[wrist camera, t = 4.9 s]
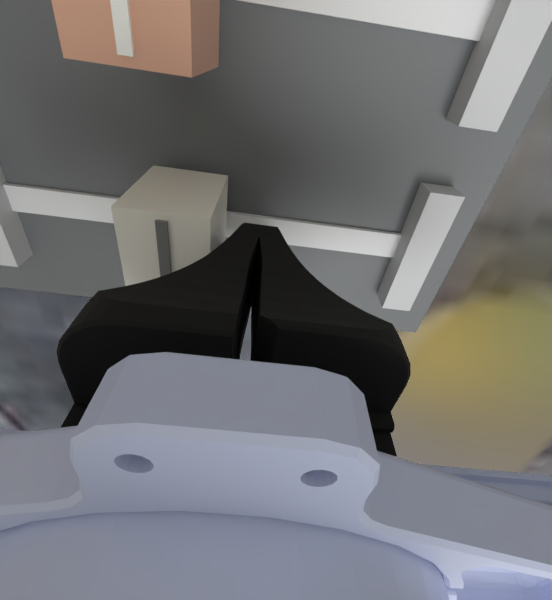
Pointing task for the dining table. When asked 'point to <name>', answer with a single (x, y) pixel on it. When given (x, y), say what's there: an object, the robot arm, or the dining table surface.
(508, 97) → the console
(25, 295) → the dining table surface
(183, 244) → the fader
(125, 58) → the fader
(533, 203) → the dining table surface
